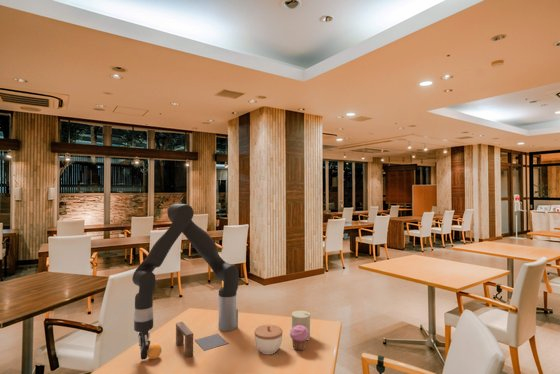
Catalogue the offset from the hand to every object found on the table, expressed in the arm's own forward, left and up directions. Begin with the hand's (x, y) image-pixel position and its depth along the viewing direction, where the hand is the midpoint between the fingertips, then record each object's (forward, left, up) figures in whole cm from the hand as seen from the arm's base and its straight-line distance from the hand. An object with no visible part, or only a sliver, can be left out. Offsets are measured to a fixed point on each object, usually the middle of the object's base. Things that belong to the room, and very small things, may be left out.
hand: (143, 358), depth 137 cm
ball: (-4, 0, +2) cm, 5 cm away
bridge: (-17, 0, -1) cm, 17 cm away
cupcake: (-61, +28, -1) cm, 67 cm away
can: (-68, +20, -1) cm, 71 cm away
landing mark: (-30, 0, -1) cm, 30 cm away
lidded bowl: (-48, +22, -1) cm, 53 cm away
